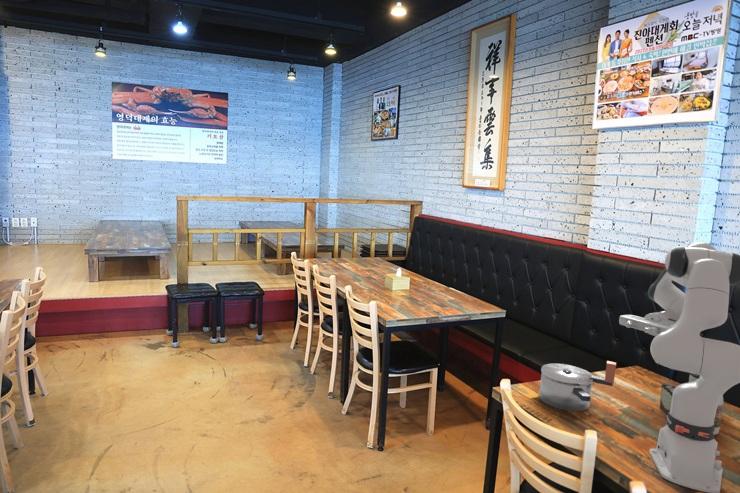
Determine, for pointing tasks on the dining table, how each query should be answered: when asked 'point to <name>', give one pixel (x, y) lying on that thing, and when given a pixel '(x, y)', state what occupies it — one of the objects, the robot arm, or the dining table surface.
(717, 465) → the robot arm
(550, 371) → the lid
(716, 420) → the milk bottle
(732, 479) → the dining table surface
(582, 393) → the cooker pot
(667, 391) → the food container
